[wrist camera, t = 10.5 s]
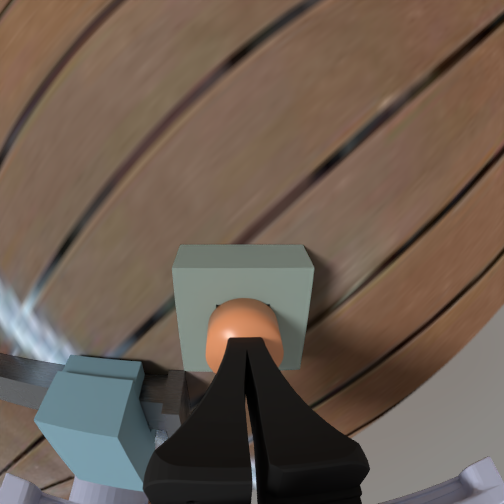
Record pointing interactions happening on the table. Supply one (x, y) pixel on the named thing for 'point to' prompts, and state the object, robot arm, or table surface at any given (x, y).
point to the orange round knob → (242, 329)
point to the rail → (42, 373)
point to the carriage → (99, 421)
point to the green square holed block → (241, 292)
